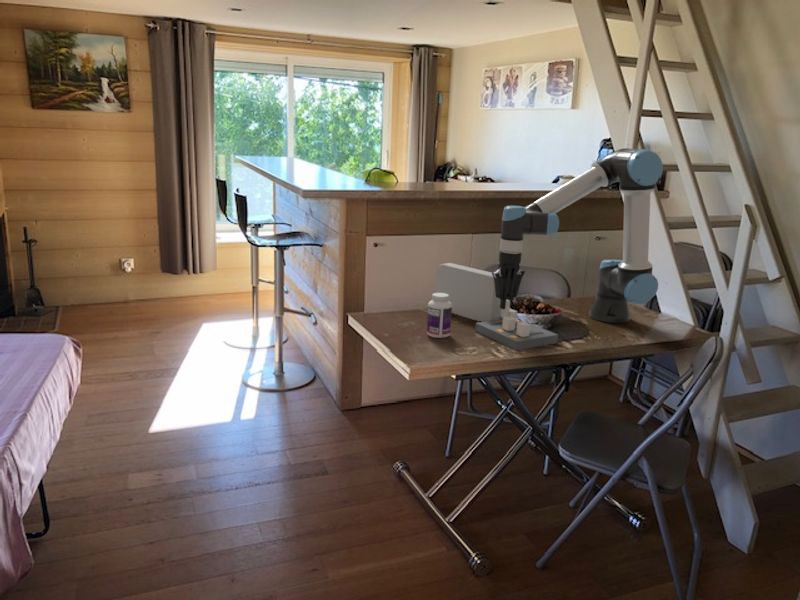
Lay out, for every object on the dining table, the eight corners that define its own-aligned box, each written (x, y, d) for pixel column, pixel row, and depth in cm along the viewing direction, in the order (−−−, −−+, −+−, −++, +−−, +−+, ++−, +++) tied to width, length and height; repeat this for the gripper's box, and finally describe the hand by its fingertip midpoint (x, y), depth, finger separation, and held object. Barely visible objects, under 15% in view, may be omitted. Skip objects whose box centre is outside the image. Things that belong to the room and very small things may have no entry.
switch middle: (508, 327, 216) (509, 316, 215) (514, 330, 214) (515, 318, 213) (502, 328, 215) (503, 317, 214) (507, 331, 212) (508, 319, 211)
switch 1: (510, 319, 225) (511, 309, 224) (516, 322, 223) (517, 311, 222) (504, 320, 224) (505, 310, 223) (509, 323, 221) (510, 312, 220)
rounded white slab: (503, 321, 234) (507, 274, 229) (490, 325, 229) (494, 277, 224) (446, 304, 254) (449, 261, 249) (433, 307, 249) (436, 263, 244)
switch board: (514, 325, 230) (515, 316, 229) (557, 343, 212) (558, 334, 211) (475, 330, 221) (475, 322, 220) (516, 350, 203) (517, 341, 202)
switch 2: (523, 333, 210) (524, 321, 209) (529, 335, 208) (530, 324, 207) (516, 334, 209) (517, 322, 208) (522, 337, 206) (523, 325, 205)
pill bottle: (447, 331, 219) (449, 291, 215) (452, 339, 211) (455, 297, 208) (424, 331, 218) (426, 291, 214) (428, 339, 210) (431, 297, 206)
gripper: (517, 248, 222) (511, 312, 228) (488, 250, 215) (483, 316, 221) (532, 252, 215) (525, 318, 221) (502, 254, 209) (496, 322, 215)
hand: (504, 317), depth 221 cm, fingers closed
